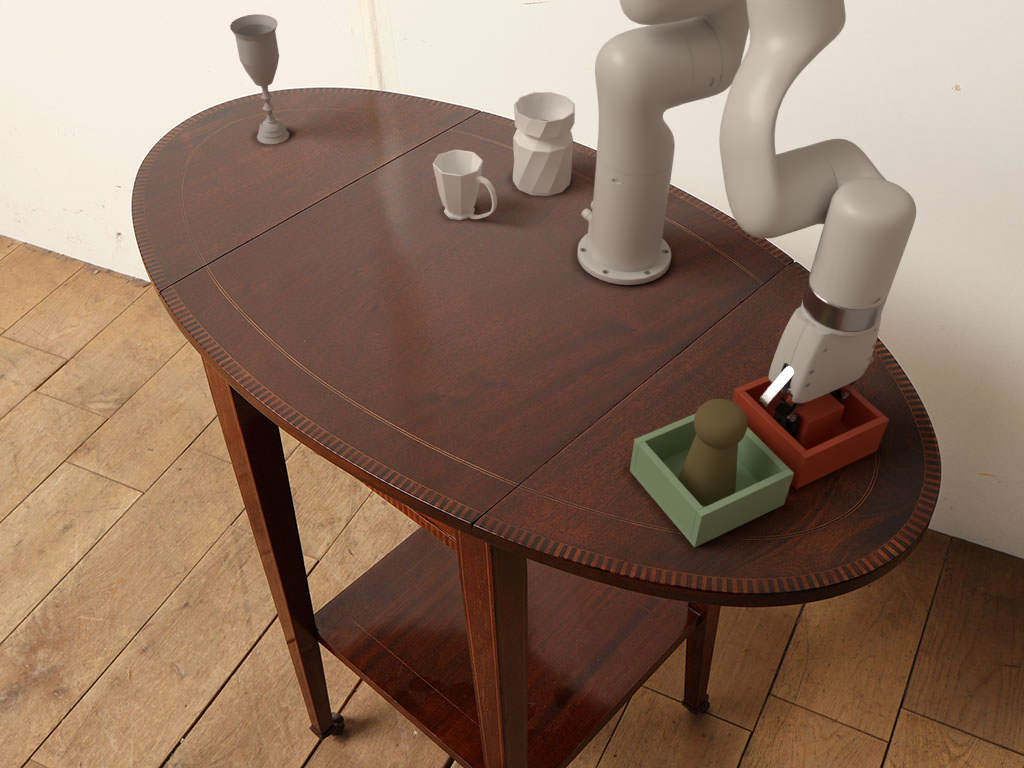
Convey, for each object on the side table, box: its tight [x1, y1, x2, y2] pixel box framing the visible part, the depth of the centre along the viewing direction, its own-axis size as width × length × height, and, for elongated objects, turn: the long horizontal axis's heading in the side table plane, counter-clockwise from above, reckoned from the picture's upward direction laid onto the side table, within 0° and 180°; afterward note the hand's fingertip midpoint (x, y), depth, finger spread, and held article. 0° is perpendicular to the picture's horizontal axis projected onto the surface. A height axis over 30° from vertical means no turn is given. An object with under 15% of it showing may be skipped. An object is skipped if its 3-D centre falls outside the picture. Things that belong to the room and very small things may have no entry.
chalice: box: [229, 13, 290, 145], centre depth 149 cm, size 7×7×18 cm
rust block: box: [772, 393, 844, 451], centre depth 108 cm, size 5×5×5 cm
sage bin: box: [629, 413, 794, 548], centre depth 103 cm, size 12×12×5 cm
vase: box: [512, 91, 576, 197], centre depth 143 cm, size 9×9×12 cm
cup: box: [432, 149, 498, 221], centre depth 138 cm, size 7×10×8 cm
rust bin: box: [731, 374, 890, 490], centre depth 108 cm, size 12×12×5 cm
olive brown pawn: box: [678, 398, 747, 506], centre depth 100 cm, size 6×6×11 cm
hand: (802, 426), depth 109 cm, fingers open, 5 cm apart
